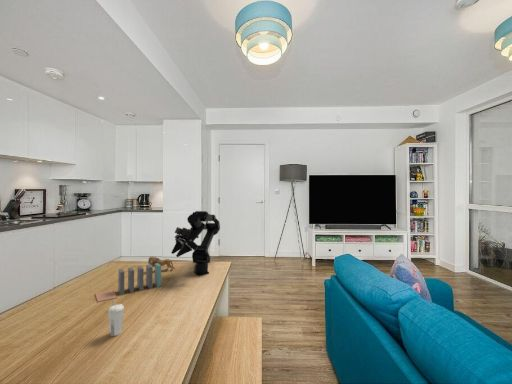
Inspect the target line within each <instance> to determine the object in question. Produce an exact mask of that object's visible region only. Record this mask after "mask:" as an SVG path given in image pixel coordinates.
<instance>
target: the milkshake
mask: <svg viewBox="0 0 512 384" xmlns="http://www.w3.org/2000/svg"><path fill="white" fill-rule="evenodd" d="M124 311H125V306H124V305H123V304H122V303H117V304H114V299H111V306H110V307H109V308H107V315H108V324H109V326H108V327H109V335H110V336H111V337H116V336H119V335H121V334H122V331H123V322H124Z"/></svg>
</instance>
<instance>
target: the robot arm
mask: <svg viewBox="0 0 512 384" xmlns="http://www.w3.org/2000/svg"><path fill="white" fill-rule="evenodd" d="M187 222H188V224H189V225H190V228H186V227H182V228H181V227H176V229H175V230H174V233H175V234H176V235H175V236H174V238H175V240H174V241H175V245H174V246H173V248H172V250H171V252H170V253H171V254H172V255H174V254H175V253H177V254H175V256H176V258H179V257H181V256H184V255H185V254H187V253H189V252H191V251H193V252H192V253H191V254H192V255H191V257H192V258H191V259H192V263H193V264H194V263H195V265H193V266H194V267H193V273H195V274H196V275H197V276H201V275H203V276H204V275H207V274H209V273H210V272H209V263H211V255H210V253H209V247H210V245H211V244H212V240H213V238H214V236H215V235H217V234H219V231H220V230H221V224H220V221H219V220H218V218H217V217H216V214H210V213H209V212H208V211H203V210H195V211H193V212H192V213H191V214H189V216H188V217H187ZM204 222H205V223H204ZM204 230H206V232H205V235H204V237H203V239H202V241H201V243H200V245H199V244H197V243H196V242H195V240H196V239H199V238H200V237H199V236H200V234H201V233H203V231H204Z"/></svg>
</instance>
